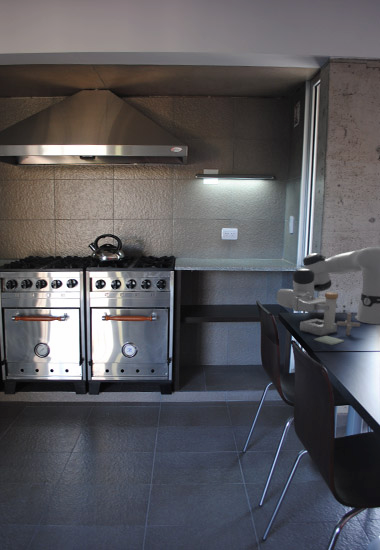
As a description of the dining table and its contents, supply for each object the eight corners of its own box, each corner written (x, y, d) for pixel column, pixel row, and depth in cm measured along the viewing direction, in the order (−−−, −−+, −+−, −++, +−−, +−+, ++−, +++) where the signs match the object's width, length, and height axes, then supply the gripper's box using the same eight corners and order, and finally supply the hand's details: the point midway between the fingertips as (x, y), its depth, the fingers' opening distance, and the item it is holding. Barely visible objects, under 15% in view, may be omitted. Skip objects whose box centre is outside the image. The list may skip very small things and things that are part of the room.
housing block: (315, 326, 220) (315, 318, 220) (336, 331, 211) (337, 323, 210) (299, 330, 213) (300, 321, 212) (320, 335, 204) (321, 327, 203)
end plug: (327, 324, 199) (330, 291, 196) (337, 327, 195) (340, 294, 192) (319, 326, 196) (322, 293, 193) (329, 329, 192) (333, 295, 189)
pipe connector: (361, 338, 200) (362, 316, 199) (337, 336, 202) (339, 315, 201) (357, 332, 210) (358, 311, 209) (335, 331, 212) (336, 310, 211)
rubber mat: (326, 336, 202) (326, 335, 202) (343, 341, 195) (344, 340, 195) (313, 340, 196) (314, 338, 196) (331, 345, 189) (331, 343, 189)
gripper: (319, 306, 210) (345, 311, 199) (291, 311, 198) (317, 317, 187) (320, 292, 209) (346, 297, 199) (292, 297, 197) (318, 302, 186)
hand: (332, 307), depth 193 cm, fingers closed on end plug, 4 cm apart
